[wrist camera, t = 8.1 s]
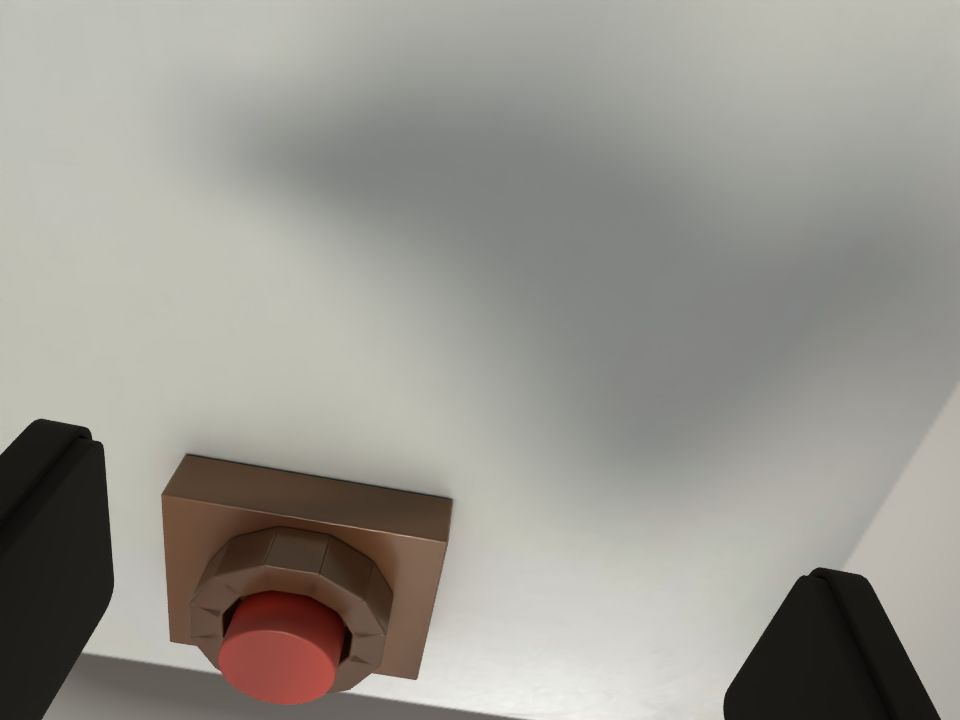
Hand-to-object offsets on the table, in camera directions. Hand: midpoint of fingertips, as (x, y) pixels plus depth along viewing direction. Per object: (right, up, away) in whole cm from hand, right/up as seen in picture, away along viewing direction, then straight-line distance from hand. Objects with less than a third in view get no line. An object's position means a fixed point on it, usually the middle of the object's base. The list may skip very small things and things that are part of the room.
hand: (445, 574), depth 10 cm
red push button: (-6, -7, +16) cm, 19 cm away
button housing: (-6, -5, +19) cm, 21 cm away
